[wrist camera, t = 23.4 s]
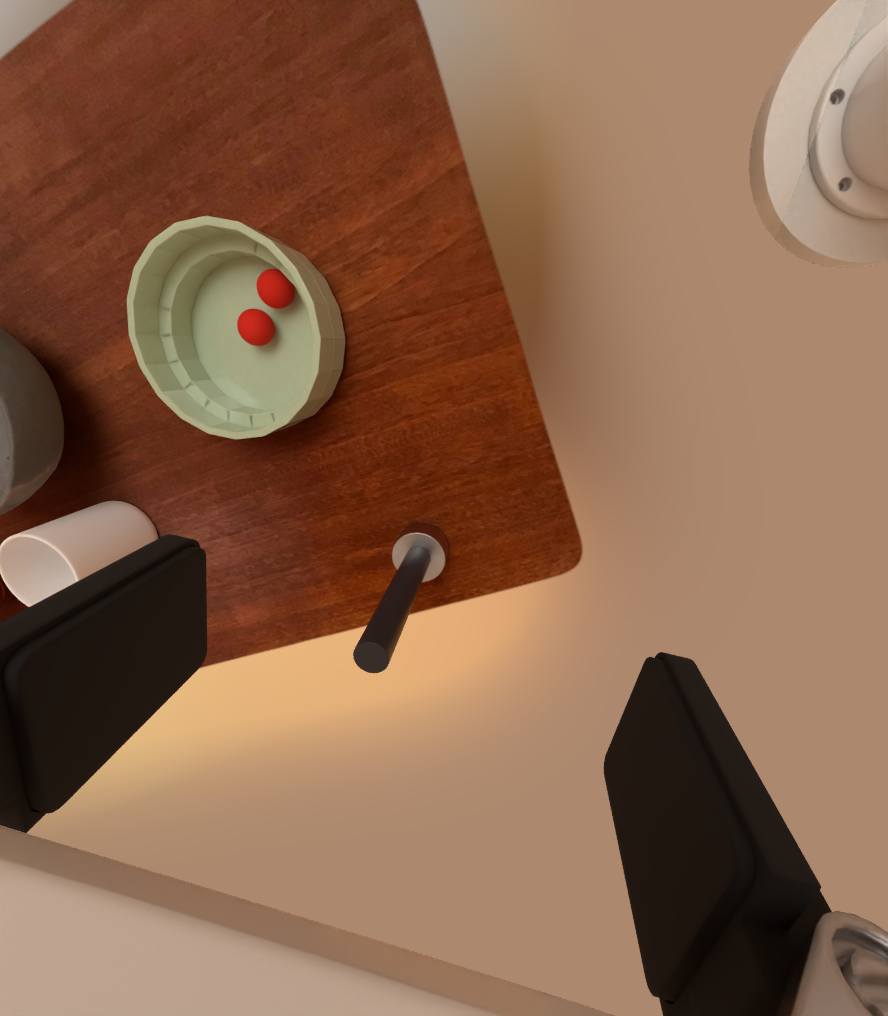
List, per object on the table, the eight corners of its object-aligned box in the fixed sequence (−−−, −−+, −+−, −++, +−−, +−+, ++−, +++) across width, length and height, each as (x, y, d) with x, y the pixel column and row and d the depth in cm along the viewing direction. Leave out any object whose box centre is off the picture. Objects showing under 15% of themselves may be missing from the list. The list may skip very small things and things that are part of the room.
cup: (129, 486, 49) (35, 519, 39) (195, 577, 51) (122, 629, 42) (79, 516, 51) (-21, 555, 42) (145, 602, 54) (65, 657, 44)
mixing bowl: (356, 253, 38) (328, 237, 32) (338, 442, 43) (311, 456, 38) (176, 221, 39) (119, 200, 33) (181, 408, 45) (133, 417, 39)
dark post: (447, 522, 44) (406, 624, 28) (450, 570, 46) (413, 693, 30) (396, 522, 45) (327, 621, 29) (400, 569, 47) (338, 688, 31)
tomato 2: (272, 261, 38) (304, 276, 38) (267, 298, 40) (298, 312, 40) (250, 263, 36) (285, 278, 35) (247, 302, 37) (280, 316, 37)
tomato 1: (229, 339, 38) (237, 302, 37) (237, 337, 40) (245, 302, 39) (266, 352, 38) (276, 317, 38) (272, 350, 41) (281, 316, 40)
